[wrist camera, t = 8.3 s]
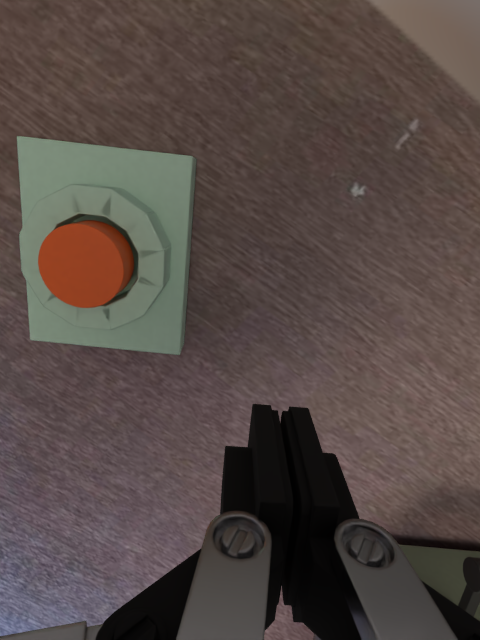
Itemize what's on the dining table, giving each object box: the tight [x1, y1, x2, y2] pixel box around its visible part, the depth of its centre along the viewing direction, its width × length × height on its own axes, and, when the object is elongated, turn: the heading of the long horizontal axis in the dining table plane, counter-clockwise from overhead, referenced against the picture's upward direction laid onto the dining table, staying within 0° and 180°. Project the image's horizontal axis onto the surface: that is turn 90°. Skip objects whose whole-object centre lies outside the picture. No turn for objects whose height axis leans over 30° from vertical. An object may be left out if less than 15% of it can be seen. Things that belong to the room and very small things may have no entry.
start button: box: [38, 220, 134, 308], centre depth 17 cm, size 4×4×2 cm
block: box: [17, 136, 197, 355], centre depth 20 cm, size 10×8×4 cm
